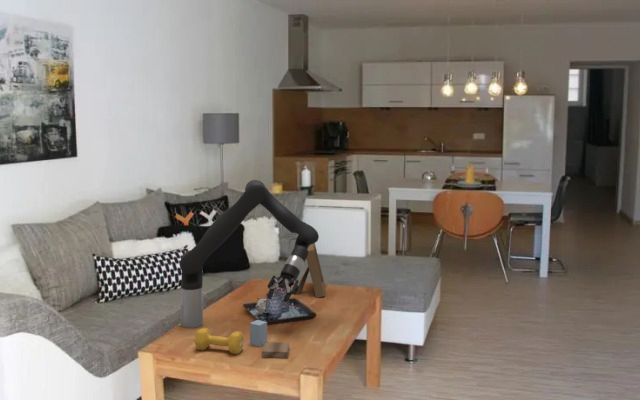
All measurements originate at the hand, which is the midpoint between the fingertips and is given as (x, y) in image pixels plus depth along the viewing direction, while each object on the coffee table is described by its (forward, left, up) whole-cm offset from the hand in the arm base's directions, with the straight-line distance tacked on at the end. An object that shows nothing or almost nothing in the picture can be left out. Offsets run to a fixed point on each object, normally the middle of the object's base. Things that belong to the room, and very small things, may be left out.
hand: (276, 299), depth 282 cm
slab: (+2, -20, -16) cm, 26 cm away
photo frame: (+12, +66, -16) cm, 69 cm away
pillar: (-6, -10, -16) cm, 20 cm away
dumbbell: (-21, -18, -16) cm, 32 cm away
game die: (-8, +27, -16) cm, 33 cm away
